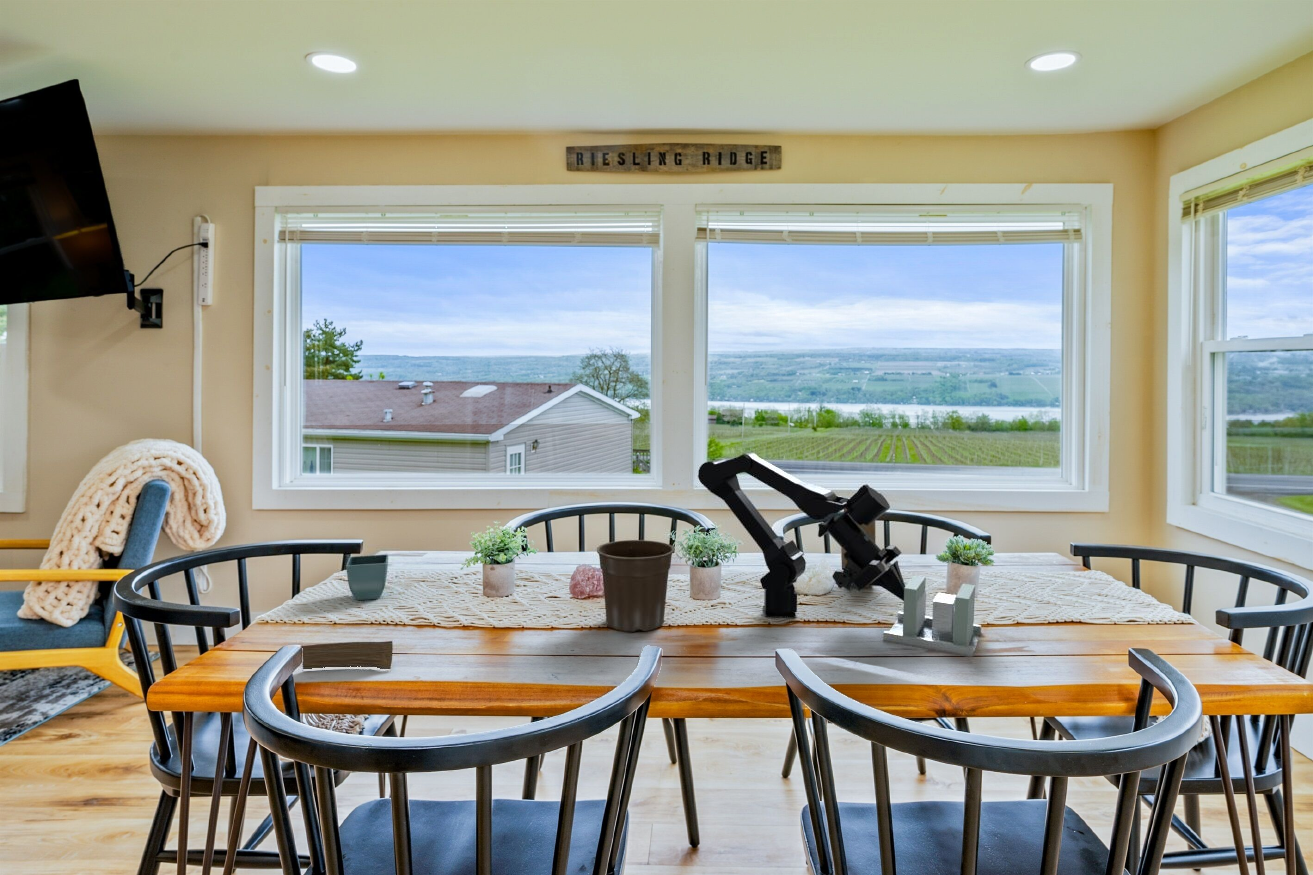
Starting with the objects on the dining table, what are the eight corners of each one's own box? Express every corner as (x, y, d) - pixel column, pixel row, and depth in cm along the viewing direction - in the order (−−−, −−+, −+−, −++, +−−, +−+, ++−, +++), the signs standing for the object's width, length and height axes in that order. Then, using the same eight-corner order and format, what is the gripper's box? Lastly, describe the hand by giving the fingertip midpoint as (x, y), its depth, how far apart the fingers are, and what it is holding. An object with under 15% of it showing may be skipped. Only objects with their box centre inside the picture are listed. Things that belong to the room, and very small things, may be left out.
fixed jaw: (952, 648, 134) (954, 596, 133) (959, 632, 143) (961, 583, 142) (966, 651, 133) (968, 599, 132) (973, 634, 142) (975, 585, 141)
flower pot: (389, 589, 173) (388, 553, 172) (388, 600, 165) (387, 562, 164) (350, 593, 170) (349, 556, 170) (347, 604, 162) (345, 565, 161)
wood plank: (299, 675, 124) (298, 647, 124) (304, 670, 126) (303, 643, 126) (390, 671, 126) (389, 644, 126) (393, 667, 128) (392, 640, 128)
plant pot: (620, 605, 162) (620, 535, 160) (685, 616, 155) (686, 543, 153) (582, 628, 147) (581, 552, 146) (652, 641, 140) (652, 561, 139)
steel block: (931, 641, 138) (933, 600, 137) (936, 631, 143) (938, 592, 143) (950, 644, 136) (952, 603, 136) (955, 634, 141) (957, 595, 141)
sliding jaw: (902, 638, 139) (904, 587, 138) (912, 622, 147) (914, 575, 147) (916, 640, 138) (917, 589, 137) (925, 624, 146) (927, 577, 145)
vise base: (882, 645, 138) (882, 632, 138) (898, 622, 151) (899, 610, 151) (971, 662, 130) (972, 649, 130) (981, 636, 143) (981, 624, 143)
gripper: (838, 553, 159) (888, 610, 154) (811, 573, 143) (866, 637, 138) (874, 522, 154) (927, 579, 149) (851, 539, 138) (909, 604, 133)
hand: (907, 600), depth 143 cm, fingers closed, pressing on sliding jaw
